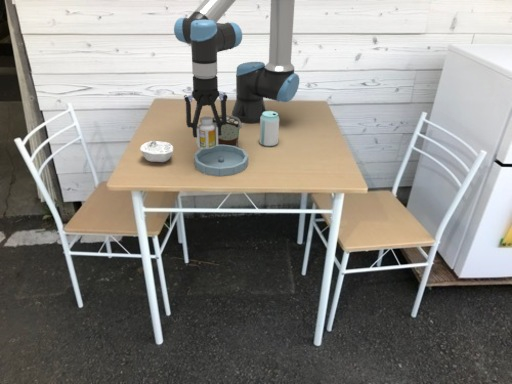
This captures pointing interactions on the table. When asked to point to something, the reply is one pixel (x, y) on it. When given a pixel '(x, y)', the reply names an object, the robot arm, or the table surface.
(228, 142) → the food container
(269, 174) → the table surface
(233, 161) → the ring tray
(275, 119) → the can
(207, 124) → the supplement bottle
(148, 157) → the cell model
